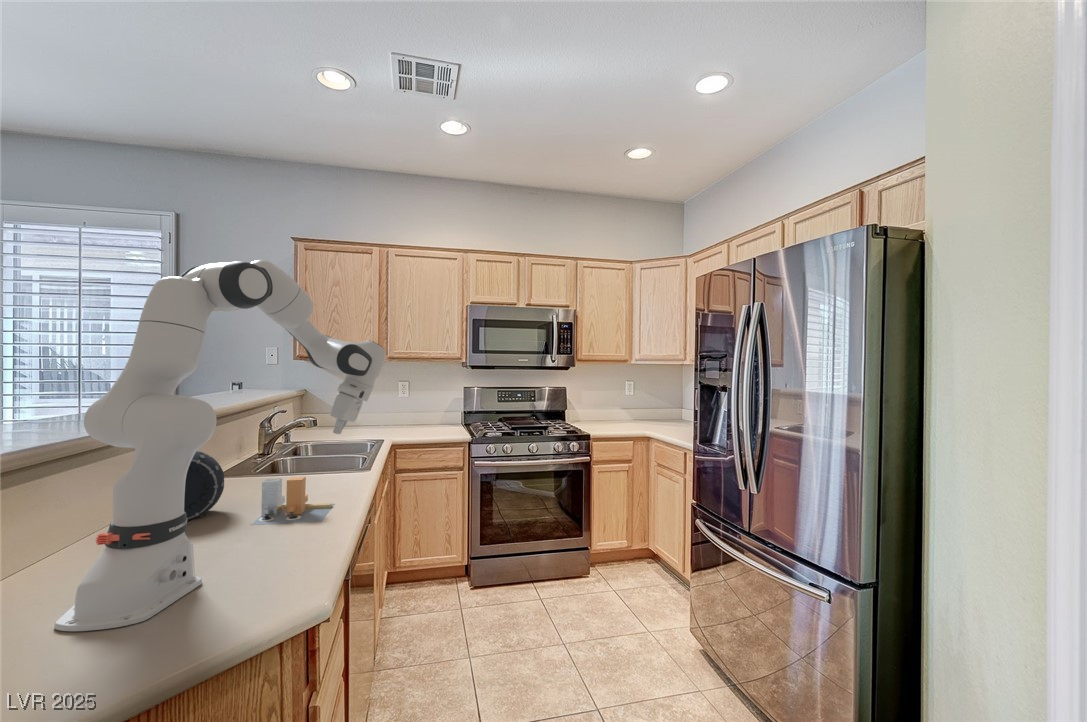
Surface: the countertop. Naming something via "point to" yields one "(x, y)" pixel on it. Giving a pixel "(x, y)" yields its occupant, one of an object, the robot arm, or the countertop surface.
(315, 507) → the board
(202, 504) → the dark rounded piece
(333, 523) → the countertop surface
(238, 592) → the countertop surface
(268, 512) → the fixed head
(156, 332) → the robot arm
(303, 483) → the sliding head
